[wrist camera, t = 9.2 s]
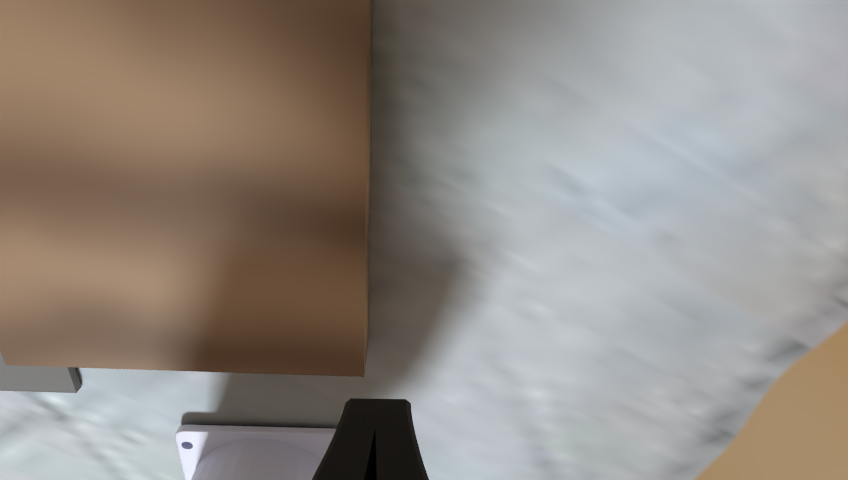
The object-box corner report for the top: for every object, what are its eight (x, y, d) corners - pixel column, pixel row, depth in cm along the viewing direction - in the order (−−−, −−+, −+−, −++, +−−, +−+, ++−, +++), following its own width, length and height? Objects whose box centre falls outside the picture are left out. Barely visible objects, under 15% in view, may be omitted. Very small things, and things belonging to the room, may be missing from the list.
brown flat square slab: (367, 344, 22) (363, 376, 20) (39, 333, 21) (6, 365, 20) (372, -9, 16) (367, -8, 14) (-98, -42, 15) (-167, -45, 13)
